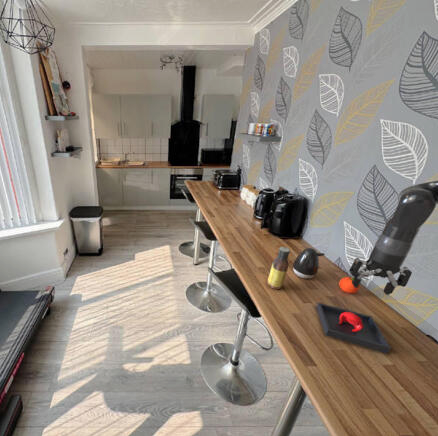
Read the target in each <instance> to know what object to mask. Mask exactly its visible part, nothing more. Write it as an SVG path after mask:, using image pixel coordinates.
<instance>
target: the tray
mask: <svg viewBox="0 0 438 436" xmlns="http://www.w3.org/2000/svg"><path fill="white" fill-rule="evenodd" d="M315 308H316V312H317V314H318V317H319V320H320V323H321V325H322V329H323V332H324V335H325V336H327V337H330V338H334V339H337V340H340V341H344V342H346V343H349V344H350V343H351V344H354V345H357V346H361V347H364V348H368V349H370V350H374V351H377V352H381V353H384V354H388V353H389V352H390V350H391V346H390V344H389V343H388V341H387V339H386V337H385V336H384V334H383V333H382V332H381V331H382V330H380V328H379V326H378V324H377V323H376V322H375V321H376V320H375V319H374V318H373V316H372V315H367V314H364V313H359V312H357V311H352V310H348V309H345V308H340V307H336V306H333V305H330V304H325V303H322V302H317V305H316V307H315ZM344 312H351V313H354V314H356V315H357V316H359V317H360V318H361V320H362V324H363V328H362V329H361V330H360V331H357V332H353V331H352V330H353V329H355V327H354V325H352V324H351V323H349V322H346V321H343V322H342V323H341V324H339V322H340V315H341V314H342V313H344Z"/></svg>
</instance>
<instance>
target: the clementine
mask: <svg viewBox="0 0 438 436" xmlns="http://www.w3.org/2000/svg"><path fill="white" fill-rule="evenodd" d="M353 278H354V277H349V276H345V277H343V278H341V279H340V280H339V282H338V286H339V288H340V289H341V291H343V292H345V293H347V294H354V293H358V291H359V290H360V285H362V282H360V284H359V286H358V288H355V287H354V286H353V284H352V280H353Z"/></svg>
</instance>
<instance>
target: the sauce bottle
mask: <svg viewBox="0 0 438 436" xmlns="http://www.w3.org/2000/svg"><path fill="white" fill-rule="evenodd" d="M290 253H291V249H290V248H288V247H286V246H280V247H279V249H278V254H277V256H276V257H275V259H273V261H272V263H271V267H270V271H269V274H268V278H267V283H266V284H267V285H268V286H269V287H270V288H271V289H273V290H281V289H282V288H283V285H284V281H285V279H286V276H287V273H288V269H289V264H290V263H289V260H288V257H289V255H290Z"/></svg>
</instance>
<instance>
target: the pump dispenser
mask: <svg viewBox="0 0 438 436" xmlns="http://www.w3.org/2000/svg"><path fill="white" fill-rule="evenodd" d="M325 254H326V253H324V252H317V250H316V249H315V248H312V247H307V248H305V249H303V250H302V251H301V252H300V253H299V254H298V255H297V256H296V258H295V259H294V261H293V264H292V270H293V273H294V274H295V275H296V276H297V277H300V278H302V279H306V280H307V279H312V278H313V277H315V276H316V275H317V274H318V271H319V266H320V263H319V262H320V259H319V257H322V256H325Z"/></svg>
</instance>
